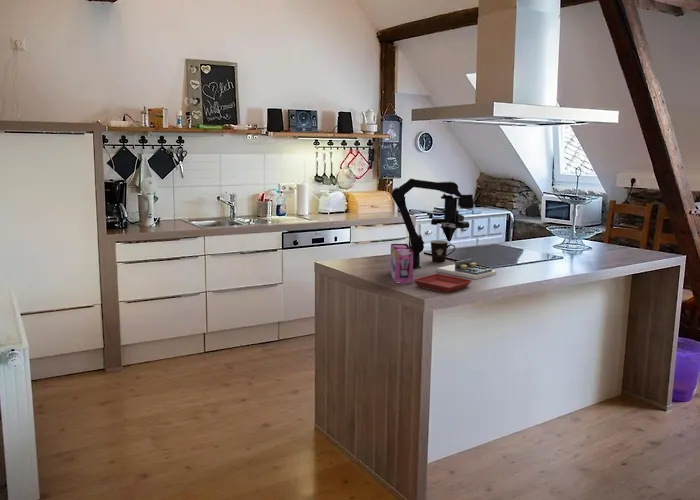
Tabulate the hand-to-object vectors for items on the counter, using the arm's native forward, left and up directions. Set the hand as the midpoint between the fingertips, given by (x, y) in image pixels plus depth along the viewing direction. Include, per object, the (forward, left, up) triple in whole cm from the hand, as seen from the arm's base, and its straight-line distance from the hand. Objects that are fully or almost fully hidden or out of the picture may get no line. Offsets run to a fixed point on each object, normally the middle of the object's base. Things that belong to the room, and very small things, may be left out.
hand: (449, 241), depth 297 cm
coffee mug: (+10, +12, -13) cm, 20 cm away
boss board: (-2, -12, -13) cm, 18 cm away
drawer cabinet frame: (-2, -16, -11) cm, 20 cm away
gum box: (-33, +1, -13) cm, 35 cm away
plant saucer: (-32, -22, -14) cm, 41 cm away
